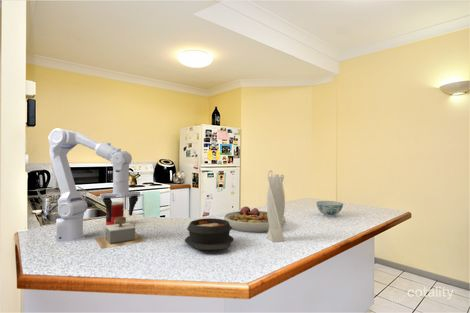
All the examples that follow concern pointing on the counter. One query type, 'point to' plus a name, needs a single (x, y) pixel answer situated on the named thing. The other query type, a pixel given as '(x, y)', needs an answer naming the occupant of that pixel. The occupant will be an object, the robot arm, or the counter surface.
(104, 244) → the cork trivet
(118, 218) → the plunger
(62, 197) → the robot arm
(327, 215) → the chinaware
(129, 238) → the grey rectangular block
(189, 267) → the counter surface
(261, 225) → the bowl
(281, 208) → the skyscraper
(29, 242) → the counter surface
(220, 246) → the casserole
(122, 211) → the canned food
